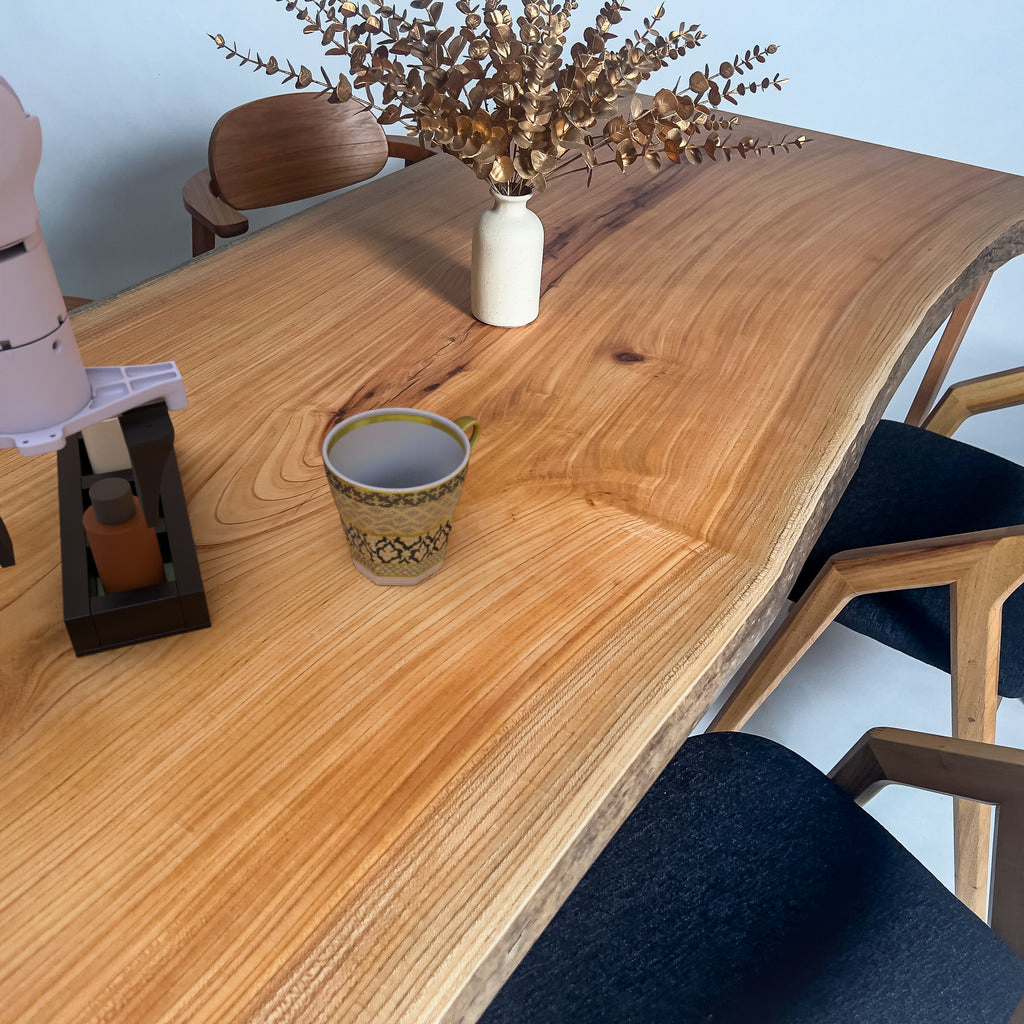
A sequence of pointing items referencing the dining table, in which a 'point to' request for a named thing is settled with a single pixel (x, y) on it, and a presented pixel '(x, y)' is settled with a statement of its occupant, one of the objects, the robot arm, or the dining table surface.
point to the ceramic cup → (398, 488)
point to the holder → (138, 610)
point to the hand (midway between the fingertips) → (81, 535)
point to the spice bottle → (121, 538)
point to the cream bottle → (106, 447)
